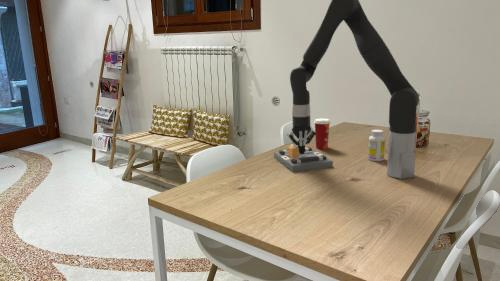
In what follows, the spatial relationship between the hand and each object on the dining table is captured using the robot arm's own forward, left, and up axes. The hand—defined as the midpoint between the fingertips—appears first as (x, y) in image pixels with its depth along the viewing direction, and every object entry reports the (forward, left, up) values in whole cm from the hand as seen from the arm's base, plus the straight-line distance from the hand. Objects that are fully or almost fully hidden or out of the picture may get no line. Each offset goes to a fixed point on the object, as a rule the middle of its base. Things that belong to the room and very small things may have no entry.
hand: (301, 153), depth 168 cm
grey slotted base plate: (0, 0, -4) cm, 4 cm away
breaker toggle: (0, +4, -1) cm, 4 cm away
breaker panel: (0, 0, -4) cm, 4 cm away
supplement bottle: (-9, -31, -4) cm, 33 cm away
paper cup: (+17, -18, -4) cm, 25 cm away
